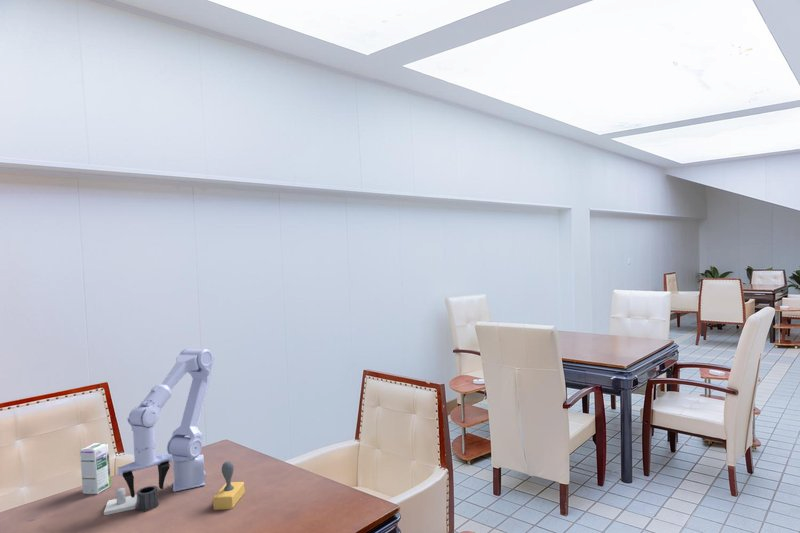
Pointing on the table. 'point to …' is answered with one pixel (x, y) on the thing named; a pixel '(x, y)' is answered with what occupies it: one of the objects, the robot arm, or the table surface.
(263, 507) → the table surface
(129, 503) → the white square peg stand
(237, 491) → the rubber stamp
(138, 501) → the gray grooved hollow cylinder
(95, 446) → the syrup box
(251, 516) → the table surface
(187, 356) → the robot arm
